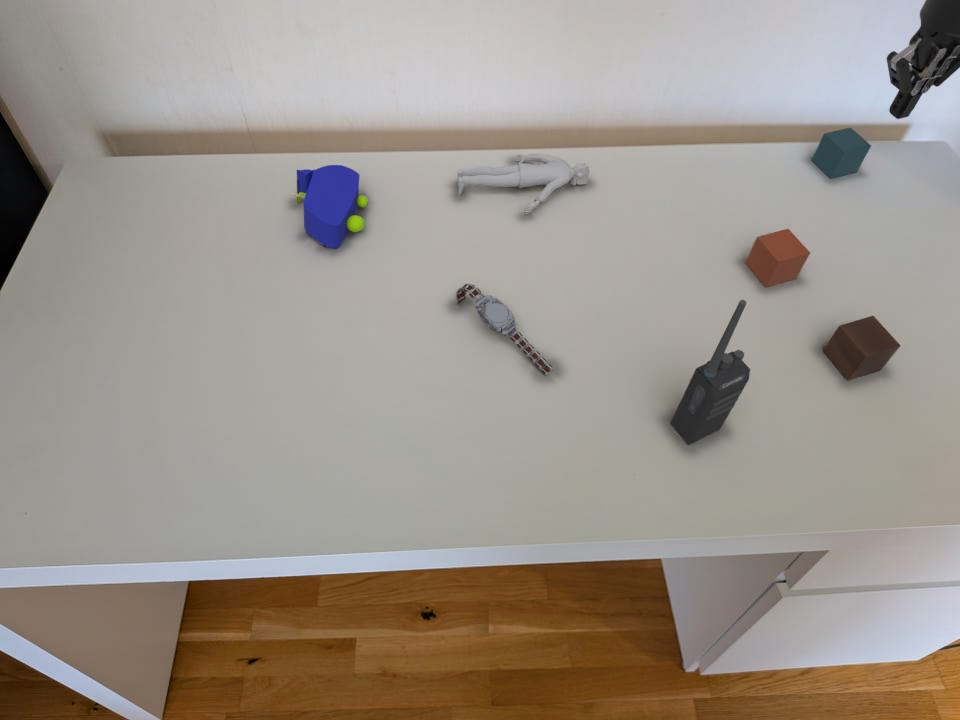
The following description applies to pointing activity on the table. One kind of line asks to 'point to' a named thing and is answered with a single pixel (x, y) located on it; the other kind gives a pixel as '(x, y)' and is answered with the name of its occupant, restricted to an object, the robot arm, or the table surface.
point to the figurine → (526, 175)
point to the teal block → (840, 152)
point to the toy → (330, 203)
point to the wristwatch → (501, 322)
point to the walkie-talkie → (713, 389)
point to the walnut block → (860, 347)
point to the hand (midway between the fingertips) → (897, 114)
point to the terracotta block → (777, 257)
